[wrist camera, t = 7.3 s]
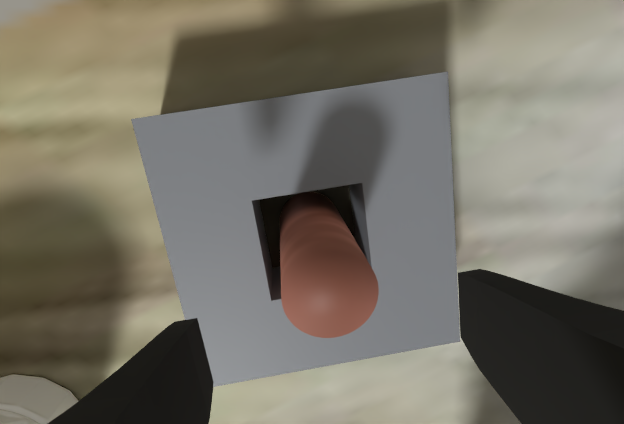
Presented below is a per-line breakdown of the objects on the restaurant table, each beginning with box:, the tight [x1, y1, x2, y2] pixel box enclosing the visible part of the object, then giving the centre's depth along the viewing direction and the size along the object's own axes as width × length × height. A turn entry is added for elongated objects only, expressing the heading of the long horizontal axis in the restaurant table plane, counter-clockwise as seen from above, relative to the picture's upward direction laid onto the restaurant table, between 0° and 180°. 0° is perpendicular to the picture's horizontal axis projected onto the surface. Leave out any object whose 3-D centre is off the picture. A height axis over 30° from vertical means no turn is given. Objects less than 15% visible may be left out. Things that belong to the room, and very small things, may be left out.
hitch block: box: [131, 72, 460, 387], centre depth 18 cm, size 12×12×4 cm
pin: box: [279, 192, 379, 338], centre depth 16 cm, size 3×3×8 cm
